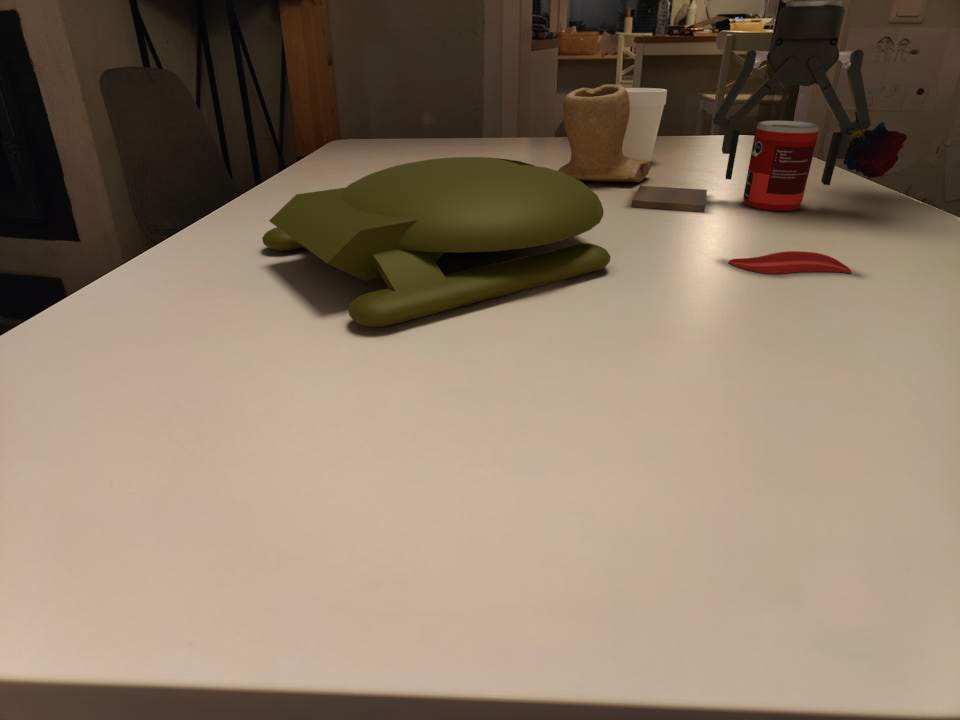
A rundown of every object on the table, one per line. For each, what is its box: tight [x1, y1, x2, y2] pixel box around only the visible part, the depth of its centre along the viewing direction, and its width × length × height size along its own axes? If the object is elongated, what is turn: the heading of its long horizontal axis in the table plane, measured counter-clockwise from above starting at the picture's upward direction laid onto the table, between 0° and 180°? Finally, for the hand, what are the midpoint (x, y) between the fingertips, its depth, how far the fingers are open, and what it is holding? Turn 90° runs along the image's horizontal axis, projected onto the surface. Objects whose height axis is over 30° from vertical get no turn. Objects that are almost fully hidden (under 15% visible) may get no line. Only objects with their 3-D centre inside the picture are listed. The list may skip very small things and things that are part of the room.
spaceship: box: [261, 156, 611, 328], centre depth 68 cm, size 35×31×10 cm
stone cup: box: [557, 84, 652, 183], centre depth 101 cm, size 15×12×15 cm
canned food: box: [742, 120, 820, 212], centre depth 86 cm, size 8×8×11 cm
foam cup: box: [622, 87, 668, 161], centre depth 116 cm, size 10×9×13 cm
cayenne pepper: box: [727, 250, 853, 275], centre depth 64 cm, size 12×5×2 cm, turn 67°
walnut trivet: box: [631, 185, 708, 213], centre depth 91 cm, size 10×10×1 cm
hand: (775, 180), depth 87 cm, fingers open, 12 cm apart
